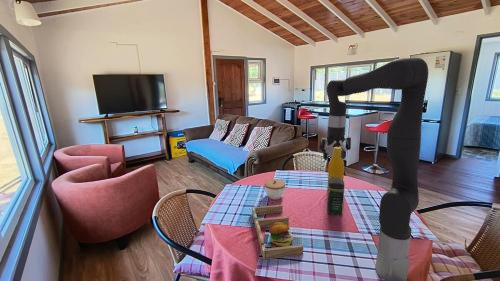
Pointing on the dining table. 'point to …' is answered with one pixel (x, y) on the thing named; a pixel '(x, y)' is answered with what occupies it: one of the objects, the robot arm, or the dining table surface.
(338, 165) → the beer bottle
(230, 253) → the dining table surface
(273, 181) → the lidded bowl
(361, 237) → the dining table surface
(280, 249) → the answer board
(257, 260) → the dining table surface
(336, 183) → the coffee jar
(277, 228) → the cheeseburger
